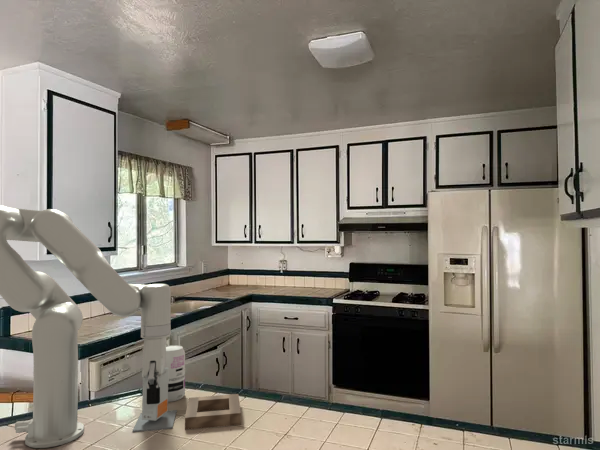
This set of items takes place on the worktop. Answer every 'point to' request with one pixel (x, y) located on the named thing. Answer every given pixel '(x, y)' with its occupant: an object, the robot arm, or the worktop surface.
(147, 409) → the skincare box
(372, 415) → the worktop surface
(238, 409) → the holder block
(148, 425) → the rubber mat
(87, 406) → the worktop surface
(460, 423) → the worktop surface
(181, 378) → the supplement can
